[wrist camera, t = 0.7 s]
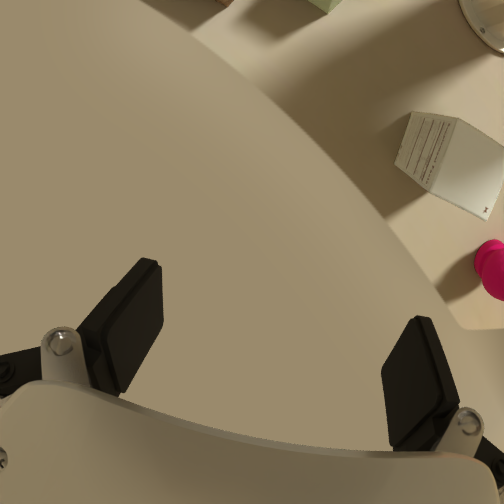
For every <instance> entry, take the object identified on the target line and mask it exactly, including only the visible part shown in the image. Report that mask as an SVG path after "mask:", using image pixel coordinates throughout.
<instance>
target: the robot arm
mask: <svg viewBox="0 0 504 504" xmlns="http://www.w3.org/2000/svg"><path fill="white" fill-rule="evenodd" d="M459 4H460V7H461V9H462V12H463V14H464V16H465V18H466V20H467V21H468V23H469V24H470V26H471V27H472V29H473V30H474V31H475V33H476V34H477V35H478V36H479V37H480V38H481V39H482V40H483V41H484V42H485V43H486V44H487V45H489V46H490V47H491V48H493V49H494V50H496V51H498V52H500V53H503V54H504V0H459ZM162 295H163V293H162V267H161V266H159V265H158V262H157V261H156V260H151V259H147V258H141V259H140V260H139V261H138V262H137V263H136V264H135V265H134V266H133V267H132V269H131V270H130V271H129V272H128V273H127V274H126V275H125V276H124V277H123V278H122V280H121V281H120V282H119V283H118V284H117V285H116V286H115V287H113V288H111V290H110V291H109V292H108V293H107V294H106V295H105V296H104V298H103V299H102V300H101V301H100V302H99V303H98V305H96V307H95V308H94V309H93V310H92V312H91V313H90V314H89V315H88V316H87V317H86V318H85V320H84V321H83V322H82V323H81V325H80V326H79V327H78V328H77V329H76V330H74V329H72V328H69V327H57V328H54V329H52V330H50V331H49V332H47V333H46V334H45V335H44V337H43V339H42V340H41V346H40V347H35V348H31V349H27V350H22V351H18V352H13V353H9V354H4V355H0V504H504V453H503V452H501V451H500V450H499V449H498V448H497V447H495V446H494V445H493V444H492V443H491V442H490V441H488V440H487V439H486V438H485V437H484V436H483V433H484V422H483V419H482V417H481V416H480V414H479V413H478V412H477V411H475V410H474V409H472V408H469V407H462V408H460V409H459V405H458V404H459V403H460V399H459V396H458V392H457V389H456V386H455V383H454V380H453V377H452V374H451V371H450V368H449V365H448V362H447V359H446V356H445V354H444V351H443V349H442V346H441V343H440V340H439V338H438V335H437V332H436V330H435V327H434V325H433V322H432V320H431V319H430V318H429V317H424V316H418V315H417V316H415V317H414V318H413V319H410V320H409V322H408V324H407V325H406V327H405V329H404V331H403V333H402V334H401V336H400V338H399V340H398V341H397V343H396V345H395V346H394V348H393V350H392V351H391V353H390V355H389V357H388V358H387V360H386V361H385V363H384V364H383V366H382V370H381V377H382V384H383V391H384V398H385V406H386V414H387V424H388V434H389V443H390V445H391V446H393V451H361V450H345V449H332V448H323V447H314V446H306V445H298V444H291V443H285V442H278V441H273V440H267V439H262V438H256V437H251V436H247V435H242V434H237V433H233V432H228V431H224V430H220V429H216V428H212V427H208V426H204V425H201V424H197V423H193V422H190V421H186V420H183V419H180V418H176V417H173V416H170V415H167V414H164V413H161V412H158V411H155V410H152V409H149V408H146V407H142V406H140V405H137V404H134V403H131V402H129V401H126V400H123V399H120V398H118V397H119V395H120V393H125V392H126V390H127V389H128V387H129V385H130V383H131V381H132V379H133V378H134V376H135V374H136V373H137V371H138V369H139V367H140V365H141V364H142V362H143V360H144V358H145V357H146V355H147V353H148V351H149V350H150V348H151V346H152V345H153V343H154V341H155V339H156V338H157V336H158V334H159V332H160V330H161V329H162V326H163V322H164V318H163V296H162Z"/></svg>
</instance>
